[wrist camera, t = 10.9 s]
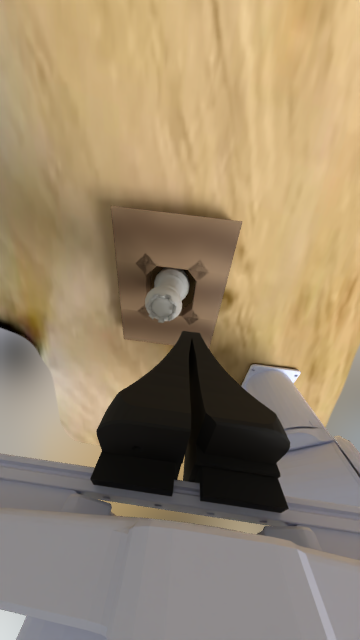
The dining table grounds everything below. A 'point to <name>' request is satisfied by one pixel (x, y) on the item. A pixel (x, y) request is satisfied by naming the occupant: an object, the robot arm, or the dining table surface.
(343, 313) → the dining table surface
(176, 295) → the rook chess piece
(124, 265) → the socket board
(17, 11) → the dining table surface
